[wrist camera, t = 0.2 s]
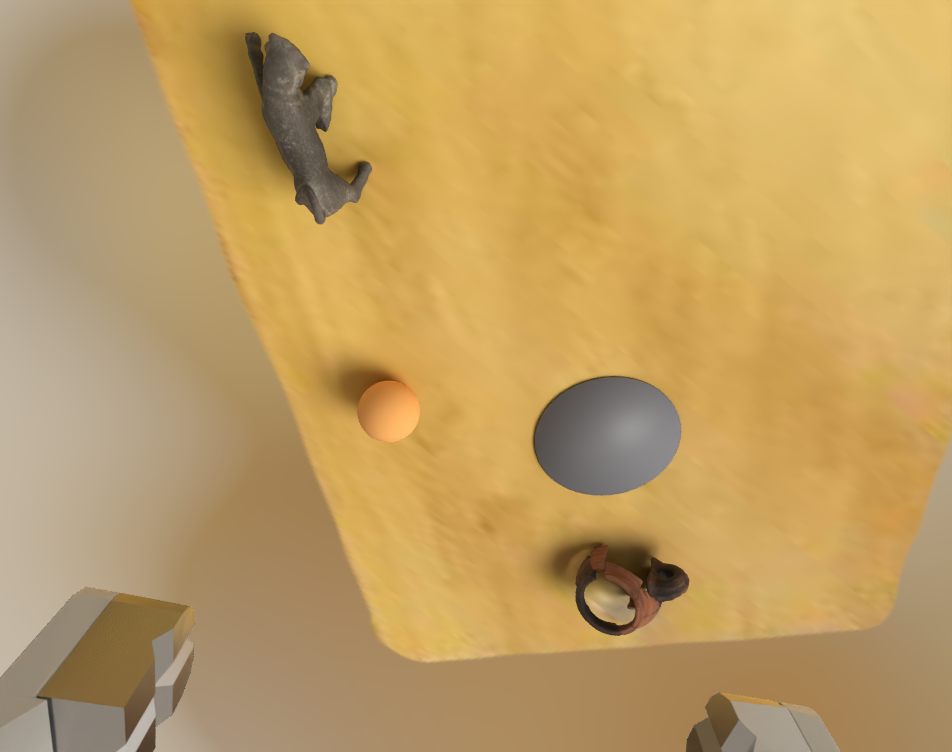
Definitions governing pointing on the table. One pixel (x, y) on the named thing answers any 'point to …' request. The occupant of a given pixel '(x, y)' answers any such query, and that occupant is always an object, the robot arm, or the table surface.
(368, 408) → the ball
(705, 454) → the table surface
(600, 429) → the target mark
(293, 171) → the dog figurine
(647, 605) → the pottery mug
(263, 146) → the table surface
